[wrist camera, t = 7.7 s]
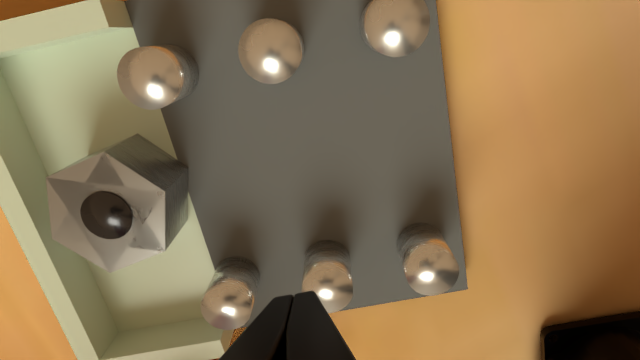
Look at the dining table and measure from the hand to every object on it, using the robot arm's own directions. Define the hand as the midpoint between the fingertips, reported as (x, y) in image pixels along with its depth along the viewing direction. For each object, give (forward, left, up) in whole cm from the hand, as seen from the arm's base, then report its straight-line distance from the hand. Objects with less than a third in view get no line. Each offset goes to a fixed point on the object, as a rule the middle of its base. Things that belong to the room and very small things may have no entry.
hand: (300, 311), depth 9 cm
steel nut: (+8, 0, -11) cm, 13 cm away
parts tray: (+9, 0, -12) cm, 15 cm away
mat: (0, 0, -12) cm, 12 cm away
